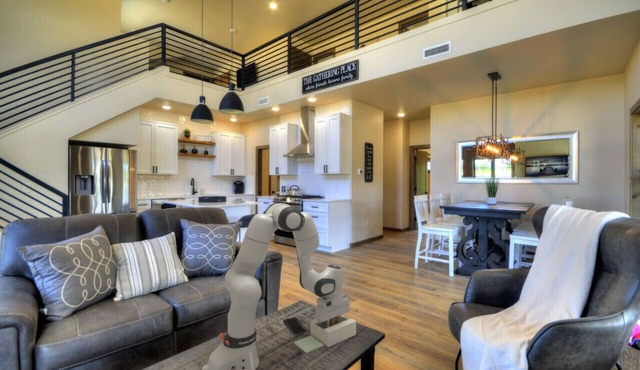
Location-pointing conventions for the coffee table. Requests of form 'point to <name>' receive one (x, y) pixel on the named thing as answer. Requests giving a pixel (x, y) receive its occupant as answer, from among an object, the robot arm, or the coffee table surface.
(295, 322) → the phone
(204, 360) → the coffee table surface
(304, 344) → the sage mat
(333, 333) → the slotted box
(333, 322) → the walnut block
